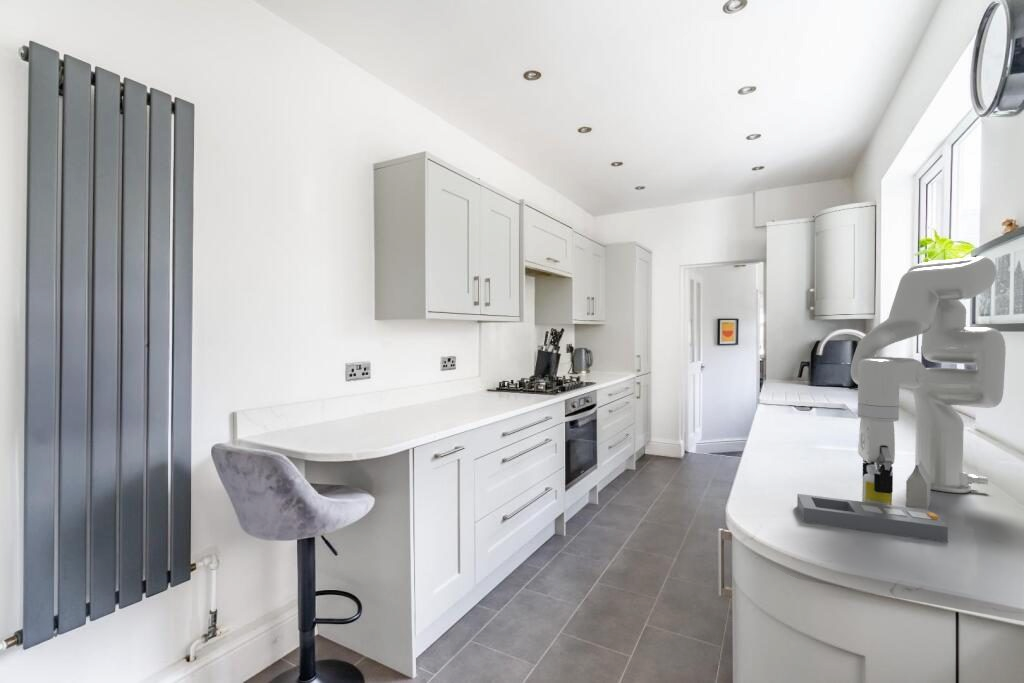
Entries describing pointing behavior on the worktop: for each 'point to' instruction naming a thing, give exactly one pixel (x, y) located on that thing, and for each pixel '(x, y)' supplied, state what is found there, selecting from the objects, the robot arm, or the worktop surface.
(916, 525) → the power strip
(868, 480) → the supplement bottle
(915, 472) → the white gable-top box
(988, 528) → the worktop surface
